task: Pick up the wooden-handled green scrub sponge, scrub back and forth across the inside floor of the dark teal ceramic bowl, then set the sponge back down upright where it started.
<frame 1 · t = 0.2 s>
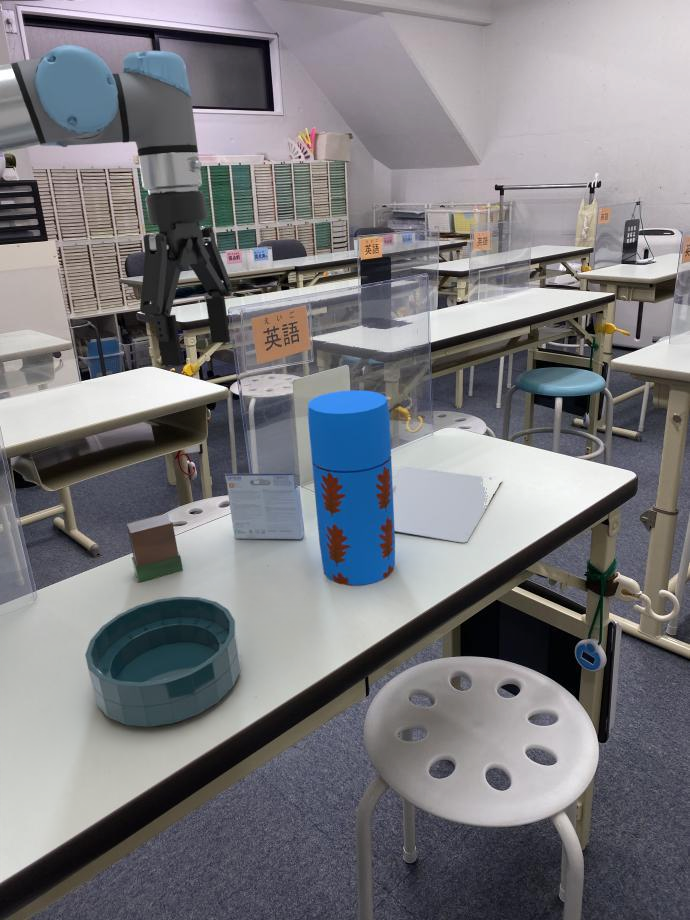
hand: (198, 353, 96), 31 cm above the table, tool pointing down, fingers open, 13 cm apart
thermos: (358, 567, 100), on the table
bowl: (170, 680, 79), on the table
white flat square sheet: (419, 501, 119), on the table
ink box: (269, 537, 110), on the table
sponge: (158, 570, 102), on the table
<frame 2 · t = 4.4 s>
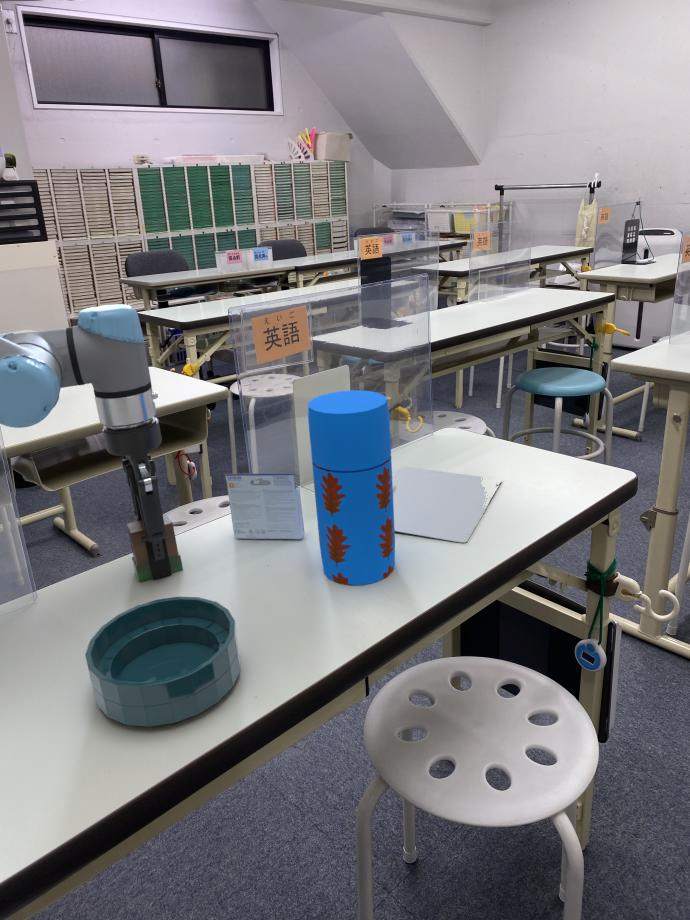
hand: (159, 569, 102), 0 cm above the table, tool pointing down, fingers closed on sponge, 4 cm apart
sponge: (158, 570, 102), on the table, touching gripper
everything else where it was.
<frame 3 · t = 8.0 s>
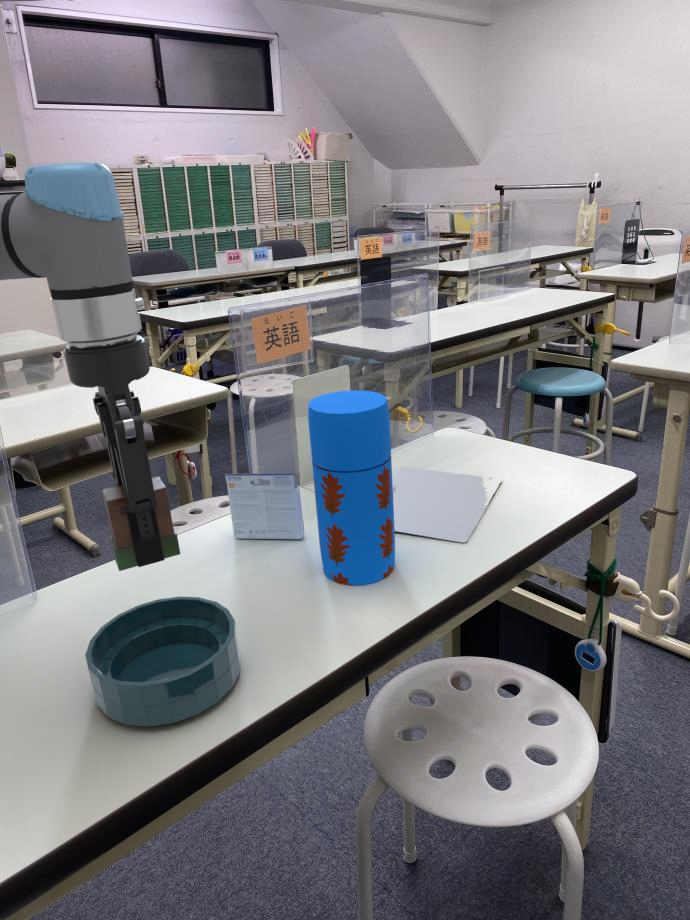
hand: (146, 553, 74), 16 cm above the table, tool pointing down, fingers closed on sponge, 4 cm apart
sponge: (147, 555, 74), point 16 cm above the table, touching gripper
everything else where it was.
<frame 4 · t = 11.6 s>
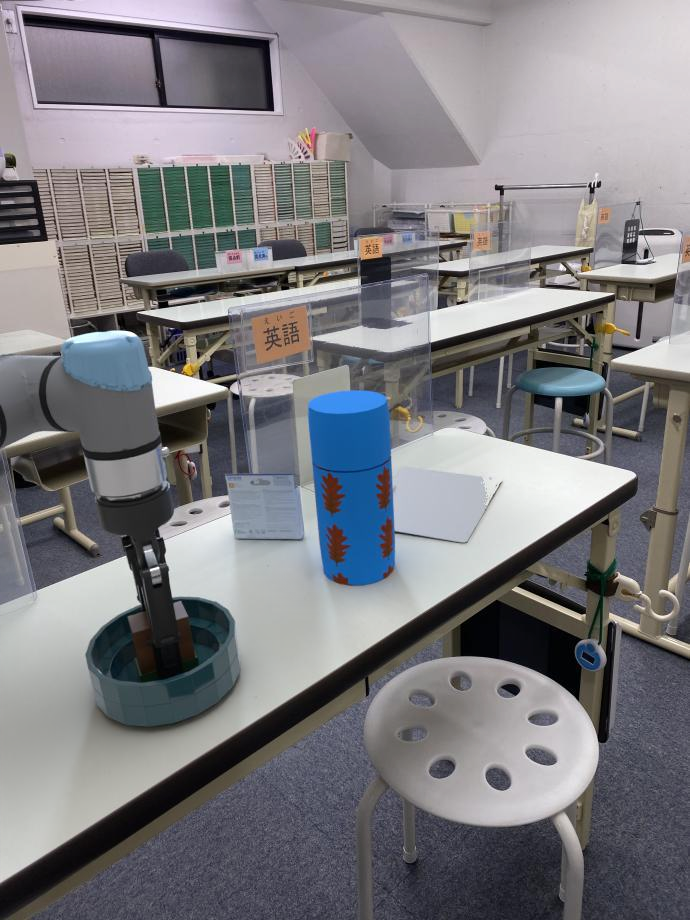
hand: (169, 673, 78), 1 cm above the table, tool pointing down, fingers closed on sponge, 4 cm apart
sponge: (169, 675, 78), point 1 cm above the table, touching gripper
everything else where it was.
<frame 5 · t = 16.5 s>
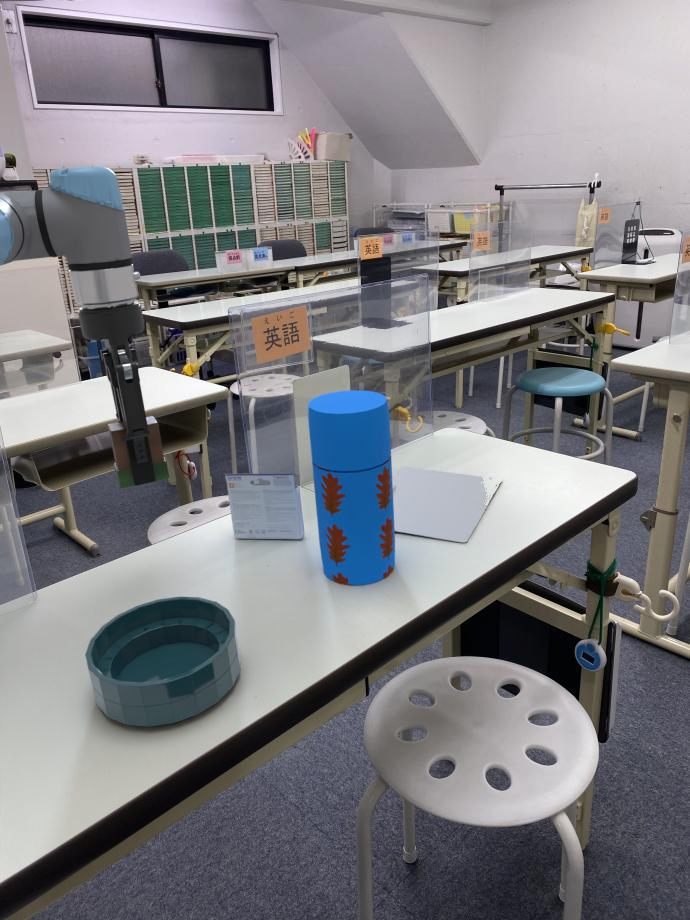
hand: (142, 476, 93), 17 cm above the table, tool pointing down, fingers closed on sponge, 4 cm apart
sponge: (143, 478, 93), point 16 cm above the table, touching gripper
everything else where it was.
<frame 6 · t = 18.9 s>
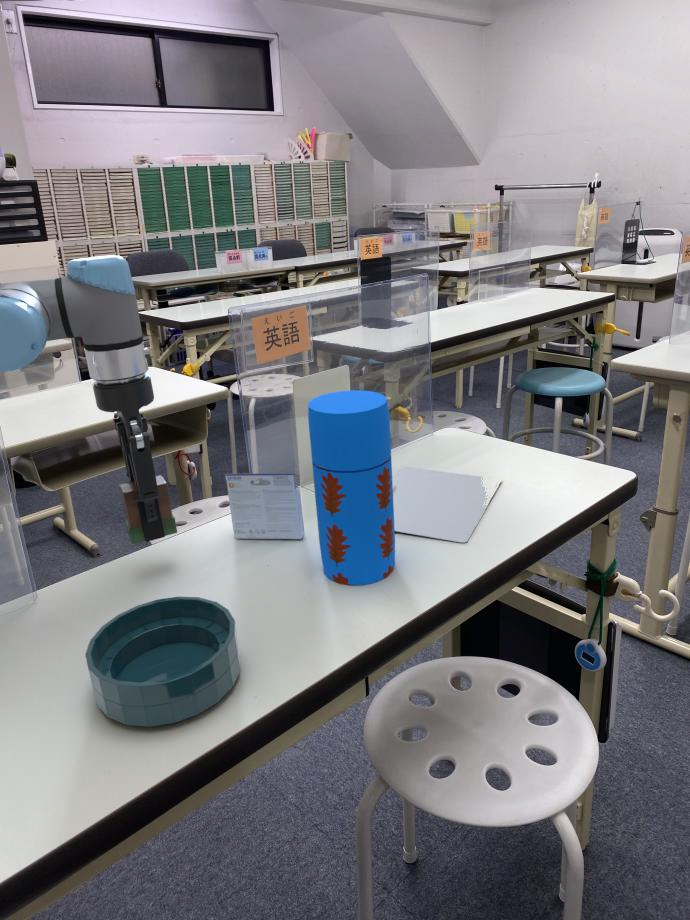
hand: (152, 532, 100), 6 cm above the table, tool pointing down, fingers closed on sponge, 4 cm apart
sponge: (152, 533, 100), point 6 cm above the table, touching gripper
everything else where it was.
when the fingers open (0 cm above the table, at t = 20.6 s): sponge stays where it is, on the table.
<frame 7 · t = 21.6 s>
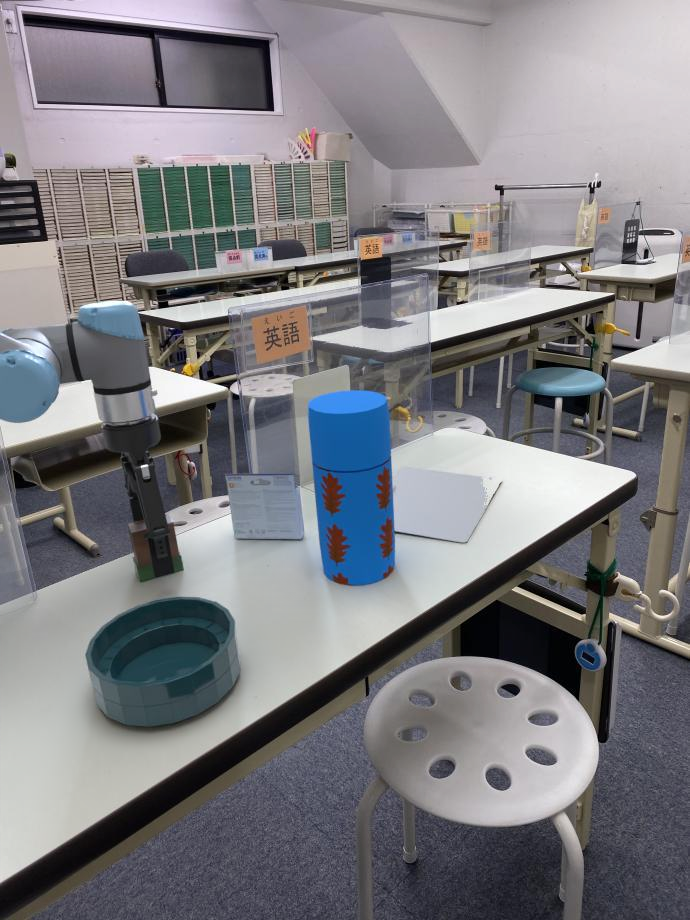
hand: (154, 554, 101), 3 cm above the table, tool pointing down, fingers open, 13 cm apart
sponge: (159, 570, 102), on the table
everything else where it was.
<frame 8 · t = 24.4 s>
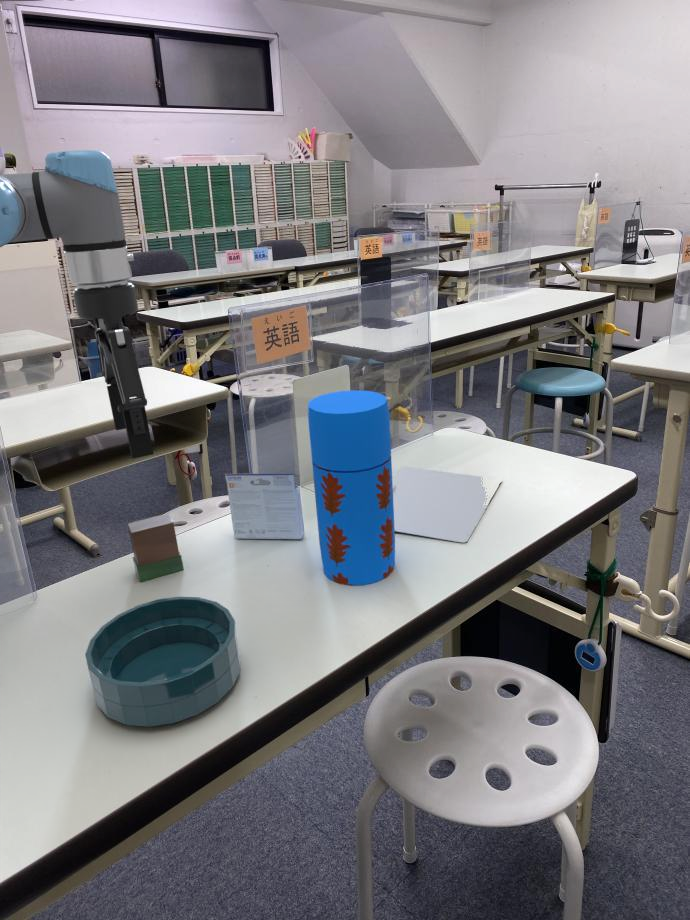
hand: (133, 441, 95), 21 cm above the table, tool pointing down, fingers open, 13 cm apart
nothing on the table moved.
at the end: sponge inside the target area on the table beside the bowl (0.1 cm from its centre), on the table; sponge tilted 0°; the gripper is holding nothing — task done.
